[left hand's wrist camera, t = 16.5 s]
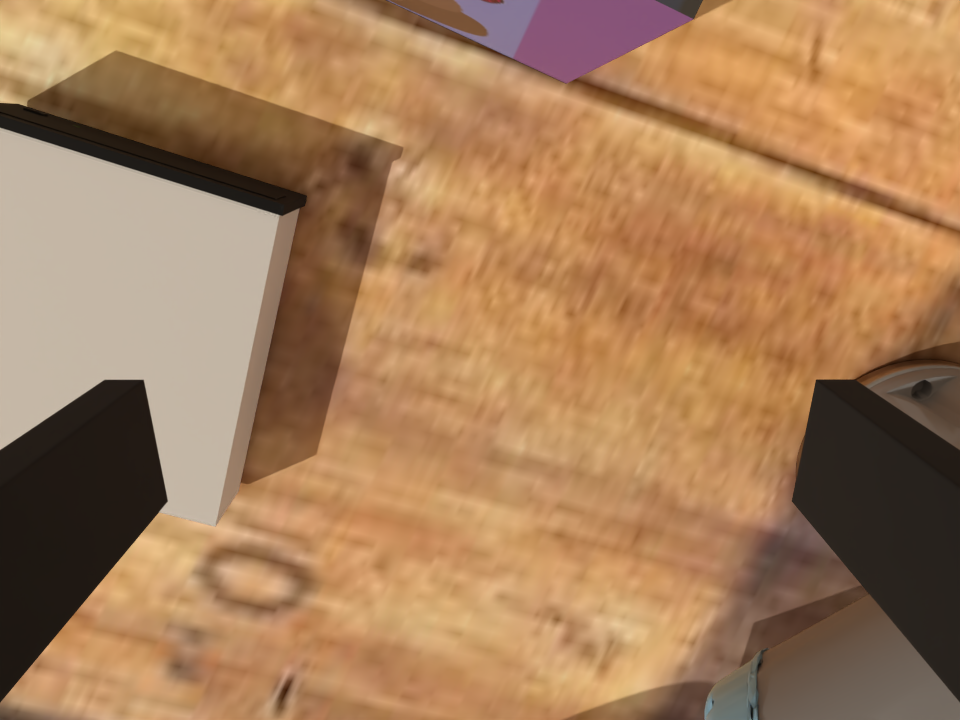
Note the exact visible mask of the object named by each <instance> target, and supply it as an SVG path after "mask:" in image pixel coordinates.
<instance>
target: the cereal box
mask: <svg viewBox="0 0 960 720" xmlns="http://www.w3.org/2000/svg"><path fill="white" fill-rule="evenodd" d="M386 1H389V2H391V3H393V4H395V5H397V6H399V7H402V8H404V9H406V10H408V11H410V12H412V13H415V14H417V15H419V16H421V17H423V18H425V19H428V20H430V21H432V22H434V23H436V24H438V25H440V26H443V27H445V28H447V29H449V30H451V31H453V32H456V33H458V34H460V35H462V36H464V37H466V38H469V39H471V40H473V41H475V42H477V43H479V44H481V45H484V46H486V47H488V48H490V49H492V50H494V51H497V52H499V53H501V54H503V55H505V56H507V57H510V58H512V59H514V60H516V61H518V62H520V63H523V64H525V65H527V66H529V67H531V68H533V69H535V70H538V71H540V72H542V73H544V74H546V75H548V76H551V77H553V78H555V79H557V80H559V81H561V82H564V83H568V82H570V81H572V80H574V79H576V78H578V77H580V76H582V75H584V74H586V73H588V72H590V71H592V70H594V69H596V68H598V67H600V66H602V65H604V64H606V63H608V62H610V61H612V60H614V59H616V58H618V57H620V56H622V55H624V54H626V53H628V52H629V51H631V50H633V49H635V48H637V47H639V46H641V45H643V44H645V43H647V42H649V41H651V40H653V39H655V38H657V37H659V36H661V35H663V34H665V33H667V32H669V31H671V30H673V29H675V28H677V27H679V26H681V25H683V24H685V23H687V22H689V21H691V20H693V19H694V17H695V15H696V13H697V11H698V9H699V7H700V5H701V3H702V1H703V0H386Z"/></svg>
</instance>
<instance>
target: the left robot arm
mask: <svg viewBox="0 0 960 720" xmlns="http://www.w3.org/2000/svg"><path fill="white" fill-rule="evenodd" d="M167 502H168V498H167V493H166V488H165V483H164V478H163V473H162V468H161V463H160V458H159V453H158V448H157V443H156V438H155V433H154V428H153V423H152V418H151V413H150V408H149V403H148V398H147V393H146V388H145V383H144V380H103V381H102V382H100V383H99V384H97V385H96V386H95V387H93V388H92V389H90V390H89V391H87V392H86V393H84V394H83V395H81V396H80V397H78V398H77V399H75V400H74V401H72V402H71V403H69V404H68V405H66V406H65V407H63V408H62V409H60V410H59V411H57V412H56V413H54V414H53V415H51V416H50V417H48V418H47V419H45V420H44V421H42V422H41V423H40V424H38V425H37V426H35V427H34V428H32V429H31V430H29V431H28V432H26V433H25V434H23V435H22V436H20V437H19V438H17V439H16V440H14V441H13V442H11V443H10V444H8V445H7V446H5V447H4V448H2V449H1V450H0V702H1V701H2V700H3V699H4V697H5V696H6V695H7V694H8V693H9V691H10V690H11V689H12V688H13V687H14V685H15V684H16V683H17V682H18V681H19V679H20V678H21V677H22V676H23V675H24V673H25V672H26V671H27V670H28V669H29V667H30V666H31V665H32V664H33V663H34V661H35V660H36V659H37V658H38V657H39V655H40V654H41V653H42V652H43V651H44V649H45V648H46V647H47V646H48V645H49V643H50V642H51V641H52V640H53V639H54V637H55V636H56V635H57V634H58V633H59V631H60V630H61V629H62V628H63V627H64V625H65V624H66V623H67V622H68V621H69V619H70V618H71V617H72V616H73V615H74V613H75V612H76V611H77V610H78V609H79V607H80V606H81V605H82V604H83V603H84V601H85V600H86V599H87V598H88V597H89V595H90V594H91V593H92V592H93V591H94V589H95V588H96V587H97V586H98V585H99V583H100V582H101V581H102V580H103V579H104V577H105V576H106V575H107V574H108V573H109V571H110V570H111V569H112V568H113V567H114V565H115V564H116V563H117V562H118V561H119V559H120V558H121V557H122V556H123V555H124V553H125V552H126V551H127V550H128V549H129V547H130V546H131V545H132V544H133V543H134V541H135V540H136V539H137V538H138V537H139V535H140V534H141V533H142V532H143V531H144V529H145V528H146V527H147V526H148V525H149V523H150V522H151V521H152V520H153V519H154V517H155V516H156V515H157V514H158V513H159V511H160V510H161V509H162V508H163V507H164V505H165V504H166V503H167ZM792 502H793V503H794V504H795V505H796V507H797V508H798V509H799V510H800V511H801V513H802V514H803V515H804V516H805V517H806V519H807V520H808V521H809V522H810V523H811V525H812V526H813V527H814V528H815V529H816V531H817V532H818V533H819V534H820V535H821V537H822V538H823V539H824V540H825V541H826V543H827V544H828V545H829V546H830V547H831V549H832V550H833V551H834V552H835V553H836V555H837V556H838V557H839V558H840V559H841V561H842V562H843V563H844V564H845V565H846V567H847V568H848V569H849V570H850V571H851V573H852V574H853V575H854V576H855V577H856V579H857V580H858V581H859V582H860V583H861V585H862V586H863V587H864V588H865V589H866V591H867V592H868V593H869V594H868V595H866V596H864V597H863V598H861V599H859V600H857V601H856V602H854V603H852V604H850V605H848V606H847V607H845V608H843V609H841V610H839V611H838V612H836V613H834V614H832V615H831V616H829V617H827V618H825V619H823V620H822V621H820V622H818V623H816V624H815V625H813V626H811V627H809V628H807V629H806V630H804V631H802V632H800V633H799V634H797V635H795V636H793V637H791V638H790V639H788V640H786V641H784V642H782V643H780V644H778V645H776V646H775V647H773V648H771V649H768V648H765V649H762V650H760V651H759V652H757V653H756V654H755V656H754V658H753V659H752V660H751V661H749V662H748V663H746V664H744V665H743V666H741V667H740V668H738V669H737V670H735V671H734V672H732V673H731V674H729V675H728V676H726V677H725V678H723V679H721V680H720V681H719V682H717V683H716V684H715V685H714V687H713V688H712V689H711V691H710V693H709V695H708V697H707V701H706V706H705V711H704V714H705V720H960V364H957V363H953V362H948V361H943V360H912V361H906V362H901V363H896V364H893V365H889V366H886V367H883V368H880V369H878V370H875V371H873V372H871V373H869V374H867V375H865V376H863V377H861V378H859V379H857V380H816V383H815V388H814V393H813V398H812V403H811V408H810V413H809V418H808V423H807V428H806V433H805V436H804V438H803V441H802V443H801V446H800V449H799V453H798V457H797V463H796V483H795V488H794V493H793V498H792Z"/></svg>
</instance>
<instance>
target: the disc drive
mask: <svg viewBox="0 0 960 720" xmlns="http://www.w3.org/2000/svg"><path fill="white" fill-rule="evenodd" d="M306 198H307V196H306V195H303V194H299V193H296V192H293V191H290V190H287V189H284V188H281V187H277V186H274V185H271V184H268V183H265V182H262V181H258V180H255V179H252V178H249V177H246V176H243V175H240V174H236V173H233V172H230V171H227V170H224V169H221V168H218V167H214V166H211V165H208V164H205V163H202V162H199V161H196V160H192V159H189V158H186V157H183V156H180V155H177V154H174V153H170V152H167V151H164V150H161V149H158V148H155V147H152V146H148V145H145V144H142V143H139V142H136V141H133V140H130V139H126V138H123V137H120V136H117V135H114V134H111V133H108V132H104V131H101V130H98V129H95V128H92V127H89V126H86V125H82V124H79V123H76V122H73V121H70V120H67V119H64V118H60V117H57V116H54V115H51V114H48V113H45V112H42V111H38V110H35V109H32V108H29V107H26V106H23V105H20V104H9V103H0V450H1V449H2V448H4V447H5V446H7V445H8V444H10V443H11V442H13V441H14V440H16V439H17V438H19V437H20V436H22V435H23V434H25V433H26V432H28V431H29V430H31V429H32V428H34V427H35V426H37V425H38V424H40V423H41V422H42V421H44V420H45V419H47V418H48V417H50V416H51V415H53V414H54V413H56V412H57V411H59V410H60V409H62V408H63V407H65V406H66V405H68V404H69V403H71V402H72V401H74V400H75V399H77V398H78V397H80V396H81V395H83V394H84V393H86V392H87V391H89V390H90V389H92V388H93V387H95V386H96V385H97V384H99V383H100V382H102V381H103V380H144V383H145V388H146V393H147V398H148V403H149V408H150V413H151V418H152V423H153V428H154V433H155V438H156V443H157V448H158V453H159V458H160V463H161V468H162V473H163V478H164V483H165V488H166V493H167V498H168V502H167V503H166V504H165V505H164V507H163V508H162V509H161V510H160V511H159V512H160V513H164V514H168V515H172V516H176V517H179V518H183V519H187V520H191V521H195V522H199V523H203V524H207V525H211V526H215V527H216V525H217V523H218V522H219V520H220V519H221V517H222V516H223V514H224V513H225V511H226V510H227V508H228V507H229V505H230V504H231V502H232V500H233V499H234V497H235V496H236V494H237V493H238V491H239V487H240V482H241V478H242V473H243V469H244V464H245V459H246V455H247V450H248V445H249V441H250V436H251V432H252V427H253V422H254V418H255V413H256V408H257V404H258V399H259V395H260V390H261V385H262V381H263V376H264V371H265V367H266V362H267V358H268V353H269V348H270V344H271V339H272V334H273V330H274V325H275V321H276V316H277V311H278V307H279V302H280V297H281V293H282V288H283V284H284V279H285V274H286V270H287V265H288V260H289V256H290V251H291V246H292V242H293V237H294V233H295V228H296V223H297V219H298V214H299V209H300V208H301V207H303V206H305V203H306Z"/></svg>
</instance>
